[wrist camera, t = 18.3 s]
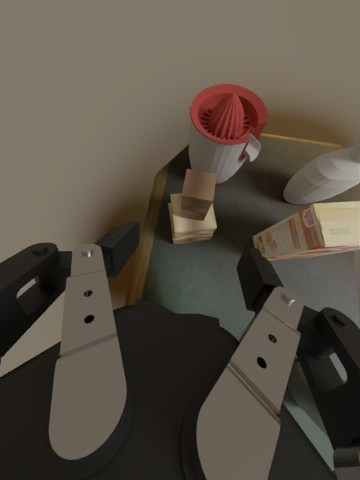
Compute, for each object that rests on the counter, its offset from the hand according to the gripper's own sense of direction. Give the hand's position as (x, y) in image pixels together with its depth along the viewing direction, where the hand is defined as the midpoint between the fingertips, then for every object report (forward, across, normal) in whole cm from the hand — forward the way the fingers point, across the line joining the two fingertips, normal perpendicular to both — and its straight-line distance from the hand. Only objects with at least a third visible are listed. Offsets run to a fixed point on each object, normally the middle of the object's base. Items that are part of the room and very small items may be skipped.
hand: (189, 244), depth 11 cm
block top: (+26, 0, +9) cm, 27 cm away
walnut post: (+22, 0, +5) cm, 23 cm away
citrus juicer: (+42, -3, -1) cm, 43 cm away
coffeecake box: (+29, -25, +13) cm, 40 cm away
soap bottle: (+40, -29, +1) cm, 50 cm away
